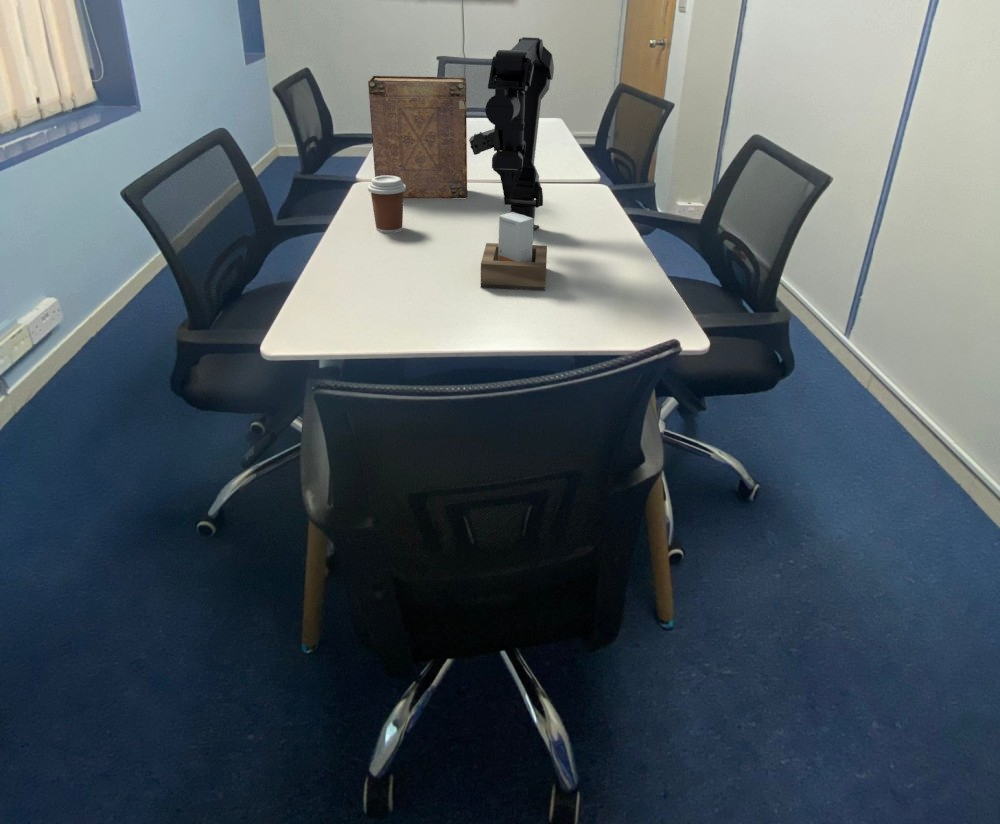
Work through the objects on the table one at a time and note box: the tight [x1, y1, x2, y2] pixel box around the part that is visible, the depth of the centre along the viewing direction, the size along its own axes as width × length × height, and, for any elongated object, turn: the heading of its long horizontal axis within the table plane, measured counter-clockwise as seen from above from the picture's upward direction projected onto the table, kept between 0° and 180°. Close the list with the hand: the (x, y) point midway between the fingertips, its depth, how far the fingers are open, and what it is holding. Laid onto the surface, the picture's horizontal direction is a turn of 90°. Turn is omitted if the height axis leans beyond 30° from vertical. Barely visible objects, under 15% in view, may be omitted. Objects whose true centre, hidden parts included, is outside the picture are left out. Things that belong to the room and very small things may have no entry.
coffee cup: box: [367, 175, 406, 234], centre depth 174 cm, size 9×9×12 cm
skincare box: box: [498, 211, 535, 262], centre depth 147 cm, size 6×4×12 cm
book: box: [367, 75, 468, 199], centre depth 197 cm, size 25×9×30 cm, turn 93°
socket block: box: [480, 242, 548, 292], centre depth 149 cm, size 13×13×5 cm
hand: (508, 193), depth 158 cm, fingers open, 9 cm apart
